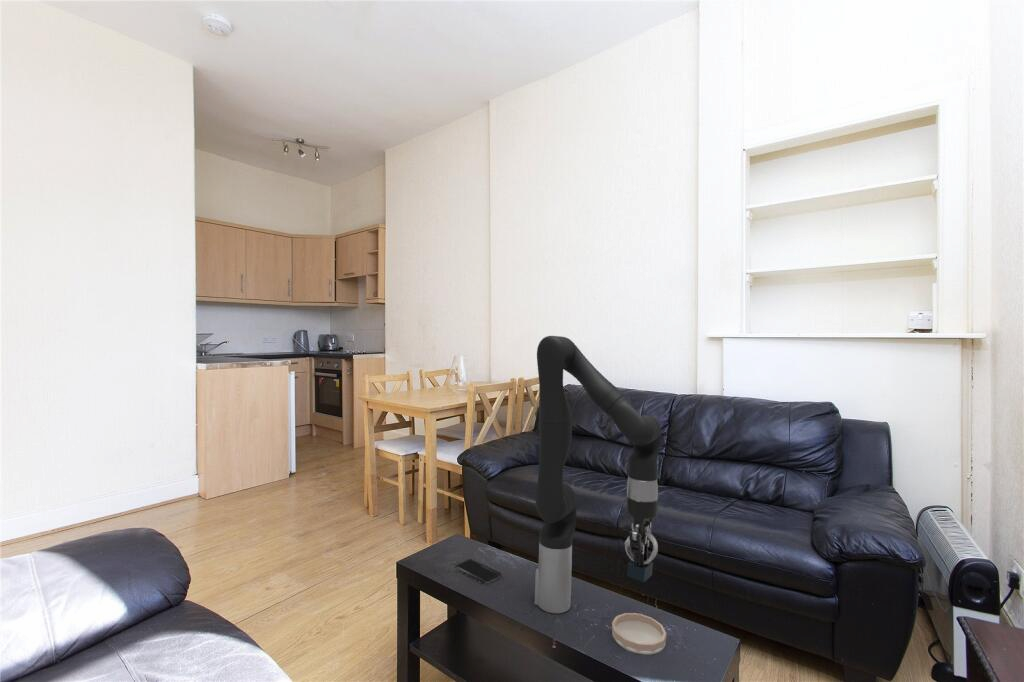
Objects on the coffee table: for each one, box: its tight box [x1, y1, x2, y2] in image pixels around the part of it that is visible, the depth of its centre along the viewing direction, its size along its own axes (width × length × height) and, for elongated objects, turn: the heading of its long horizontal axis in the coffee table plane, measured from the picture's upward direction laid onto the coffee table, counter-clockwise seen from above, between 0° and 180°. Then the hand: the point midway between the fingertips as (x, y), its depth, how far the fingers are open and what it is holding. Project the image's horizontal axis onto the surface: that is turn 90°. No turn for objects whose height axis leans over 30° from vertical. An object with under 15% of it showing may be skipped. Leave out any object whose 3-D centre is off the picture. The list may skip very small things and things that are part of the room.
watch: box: [624, 532, 659, 583], centre depth 112 cm, size 6×8×11 cm
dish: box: [611, 612, 667, 656], centre depth 112 cm, size 13×13×2 cm
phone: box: [454, 558, 503, 585], centre depth 142 cm, size 8×1×15 cm
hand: (640, 564), depth 112 cm, fingers closed on watch, 3 cm apart
